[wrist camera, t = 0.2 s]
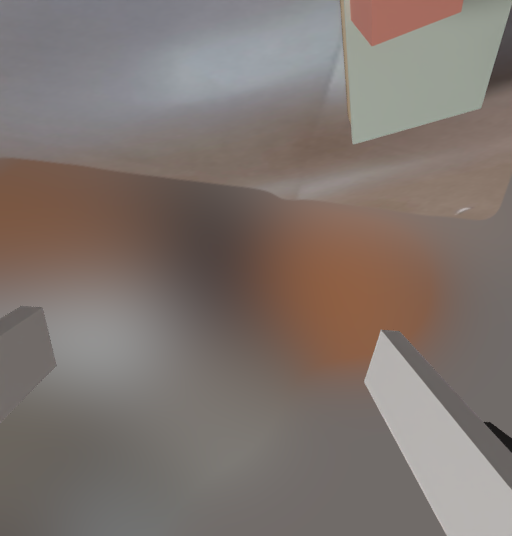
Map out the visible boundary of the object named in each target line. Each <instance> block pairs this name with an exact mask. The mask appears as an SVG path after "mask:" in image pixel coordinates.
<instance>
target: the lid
mask: <svg viewBox="0 0 512 536" xmlns="http://www.w3.org/2000/svg"><path fill="white" fill-rule="evenodd" d="M511 6H512V0H344V13H345V29H346V46H347V63H348V79H349V96H350V113H351V130H352V143H353V144H357V143H360V142H364V141H367V140H371V139H374V138H378V137H382V136H385V135H389V134H392V133H396V132H399V131H403V130H406V129H410V128H413V127H417V126H420V125H424V124H427V123H431V122H434V121H438V120H441V119H445V118H448V117H452V116H456V115H459V114H463V113H466V112H470V111H473V110H477V109H480V108H481V107H482V103H483V100H484V97H485V93H486V90H487V86H488V83H489V80H490V76H491V73H492V70H493V66H494V63H495V60H496V56H497V53H498V49H499V46H500V43H501V39H502V36H503V33H504V29H505V26H506V22H507V19H508V16H509V12H510V9H511Z"/></svg>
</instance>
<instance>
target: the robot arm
mask: <svg viewBox="0 0 512 536" xmlns="http://www.w3.org/2000/svg"><path fill="white" fill-rule="evenodd" d="M55 367H56V362H55V358H54V353H53V349H52V345H51V340H50V336H49V332H48V328H47V324H46V320H45V315H44V311H43V308H42V307H28V306H20V307H19V308H17V309H15V310H14V311H12V312H11V313H9V314H7V315H5V316H4V317H2V318H1V319H0V423H1V422H2V421H3V420H4V419H5V418H6V417H7V415H9V413H10V412H11V411H12V410H13V409H14V408H15V407H16V406H17V405H18V404H19V403H20V402H21V401H22V400H23V399H24V398H25V397H26V396H27V395H28V394H29V393H30V392H31V391H32V390H33V389H34V388H35V387H36V386H37V385H38V384H39V383H40V382H41V381H42V380H43V379H44V378H45V377H46V376H47V375H48V374H49V373H50V372H51V371H52V370H53V369H54V368H55ZM364 383H365V384H366V386H367V388H368V390H369V392H370V394H371V396H372V398H373V399H374V401H375V403H376V405H377V407H378V409H379V410H380V412H381V414H382V416H383V418H384V420H385V422H386V424H387V425H388V427H389V429H390V431H391V433H392V435H393V436H394V438H395V440H396V442H397V444H398V446H399V447H400V449H401V451H402V453H403V455H404V457H405V459H406V461H407V463H408V464H409V466H410V468H411V470H412V472H413V474H414V476H415V477H416V479H417V481H418V483H419V485H420V487H421V488H422V490H423V492H424V494H425V496H426V498H427V500H428V502H429V503H430V505H431V507H432V509H433V511H434V513H435V514H436V516H437V518H438V520H439V522H440V524H441V526H442V528H443V530H444V531H445V533H446V535H447V536H512V438H510V437H509V436H508V435H506V434H505V433H504V432H502V431H501V430H500V429H498V428H497V427H496V426H494V425H493V424H491V423H490V422H483V421H482V420H481V419H480V418H479V417H478V416H477V415H476V414H475V413H474V412H473V410H472V409H471V408H470V407H469V406H468V405H467V404H466V403H465V402H464V401H463V400H462V399H461V397H460V396H459V395H458V394H457V393H456V392H455V391H454V390H453V389H452V388H451V387H450V386H449V384H448V383H447V382H446V381H445V380H444V379H443V378H442V377H441V376H440V375H439V374H438V373H437V371H436V370H435V369H433V367H432V366H431V365H430V364H429V363H428V362H427V361H426V360H425V358H424V357H423V356H422V355H421V354H420V353H419V352H418V351H417V350H416V349H415V348H414V347H413V345H412V344H411V343H410V342H409V341H408V340H407V339H406V338H405V337H404V336H403V335H402V334H401V333H400V331H389V330H381V332H380V335H379V338H378V341H377V344H376V347H375V350H374V354H373V357H372V360H371V363H370V366H369V369H368V372H367V375H366V378H365V381H364Z"/></svg>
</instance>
